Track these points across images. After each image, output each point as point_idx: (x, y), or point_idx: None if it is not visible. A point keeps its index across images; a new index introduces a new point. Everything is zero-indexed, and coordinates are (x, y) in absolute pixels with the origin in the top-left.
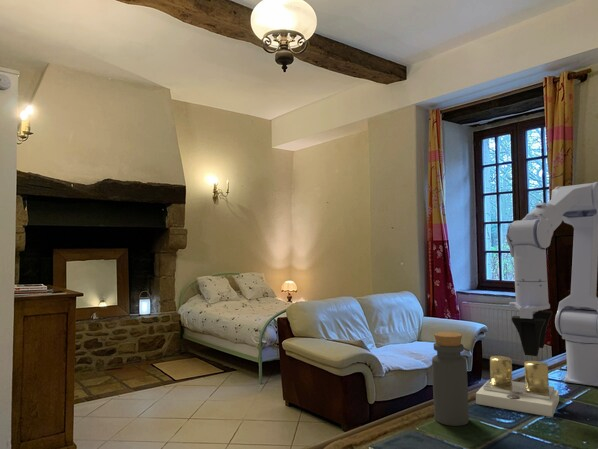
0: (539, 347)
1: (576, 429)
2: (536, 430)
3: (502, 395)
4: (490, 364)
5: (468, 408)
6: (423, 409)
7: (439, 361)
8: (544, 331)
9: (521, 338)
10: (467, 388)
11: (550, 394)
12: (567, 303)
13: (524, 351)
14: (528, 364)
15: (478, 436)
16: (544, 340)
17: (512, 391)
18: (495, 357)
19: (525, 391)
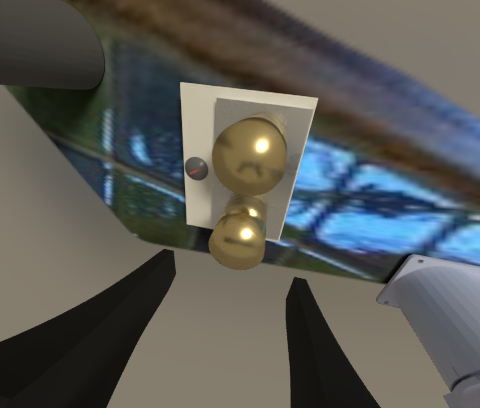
0: (288, 293)
1: (167, 234)
2: (132, 192)
3: (197, 147)
4: (238, 121)
5: (68, 87)
6: None
7: None
8: (290, 372)
9: (110, 288)
10: (9, 84)
11: None
12: None
13: (155, 255)
14: (216, 233)
15: (53, 117)
16: (287, 329)
17: None
18: (255, 143)
19: (224, 193)
